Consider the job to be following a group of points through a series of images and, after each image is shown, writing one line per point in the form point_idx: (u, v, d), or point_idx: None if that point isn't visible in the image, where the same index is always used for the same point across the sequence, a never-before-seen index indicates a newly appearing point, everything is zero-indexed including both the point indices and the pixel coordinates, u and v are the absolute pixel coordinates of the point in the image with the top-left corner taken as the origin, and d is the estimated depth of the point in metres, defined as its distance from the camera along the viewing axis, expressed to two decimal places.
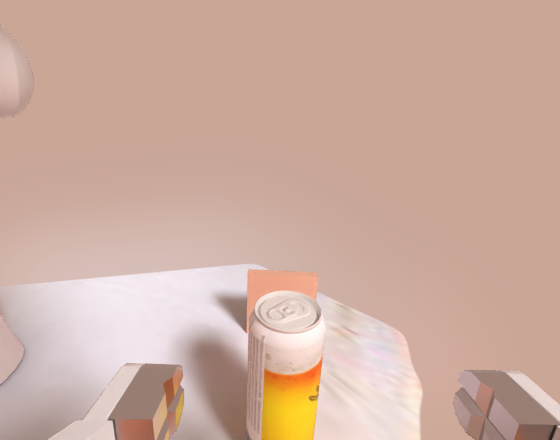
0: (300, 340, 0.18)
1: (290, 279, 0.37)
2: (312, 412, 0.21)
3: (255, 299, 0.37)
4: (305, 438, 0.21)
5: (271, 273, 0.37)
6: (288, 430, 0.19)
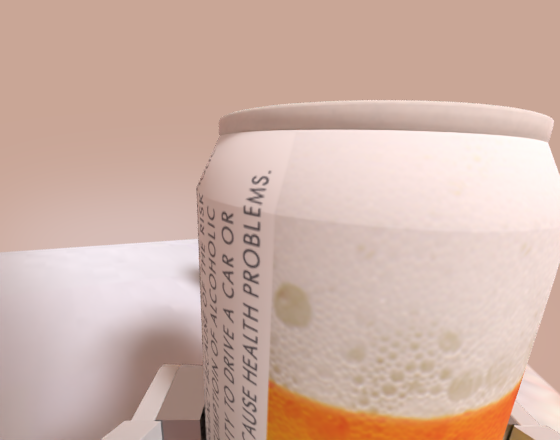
0: (520, 178, 0.03)
1: None
2: None
3: None
4: None
5: None
6: None
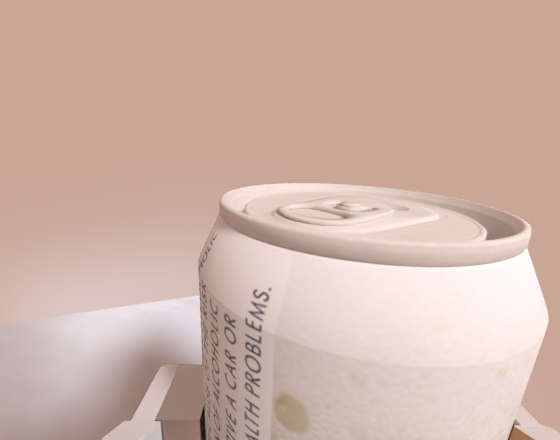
0: (497, 307, 0.03)
1: None
2: None
3: None
4: None
5: None
6: None
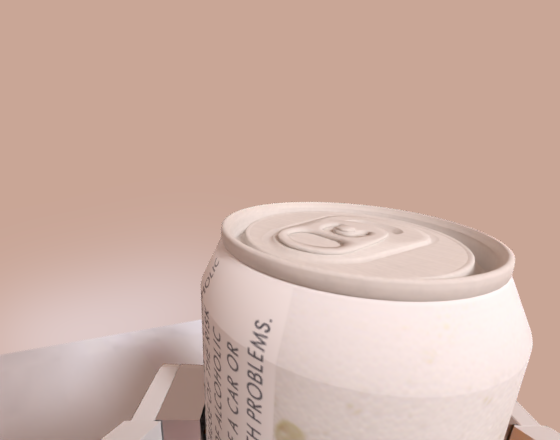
0: (482, 338, 0.03)
1: None
2: None
3: None
4: None
5: None
6: None
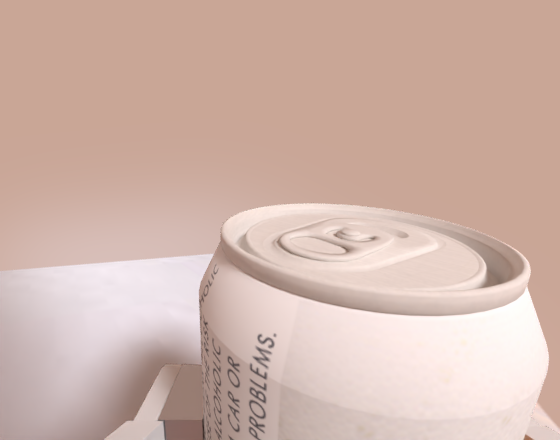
0: (501, 354, 0.03)
1: None
2: None
3: None
4: None
5: None
6: None
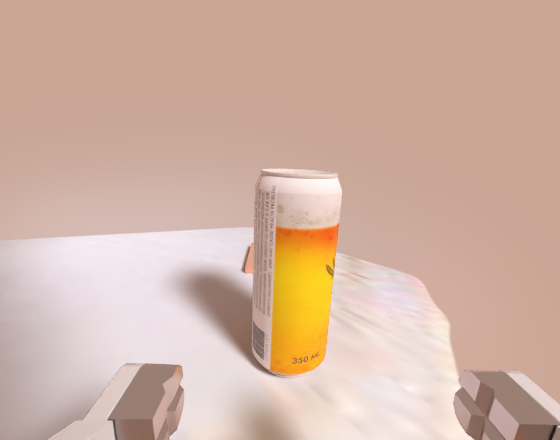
0: (317, 186, 0.16)
1: None
2: (328, 290, 0.18)
3: None
4: (321, 321, 0.18)
5: None
6: (304, 304, 0.17)
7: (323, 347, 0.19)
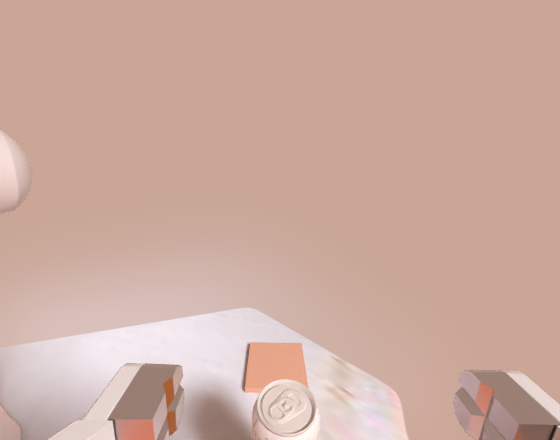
0: None
1: (281, 345, 0.50)
2: None
3: (255, 359, 0.46)
4: None
5: None
6: None
7: None
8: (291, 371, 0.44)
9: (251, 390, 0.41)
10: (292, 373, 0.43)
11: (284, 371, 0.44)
